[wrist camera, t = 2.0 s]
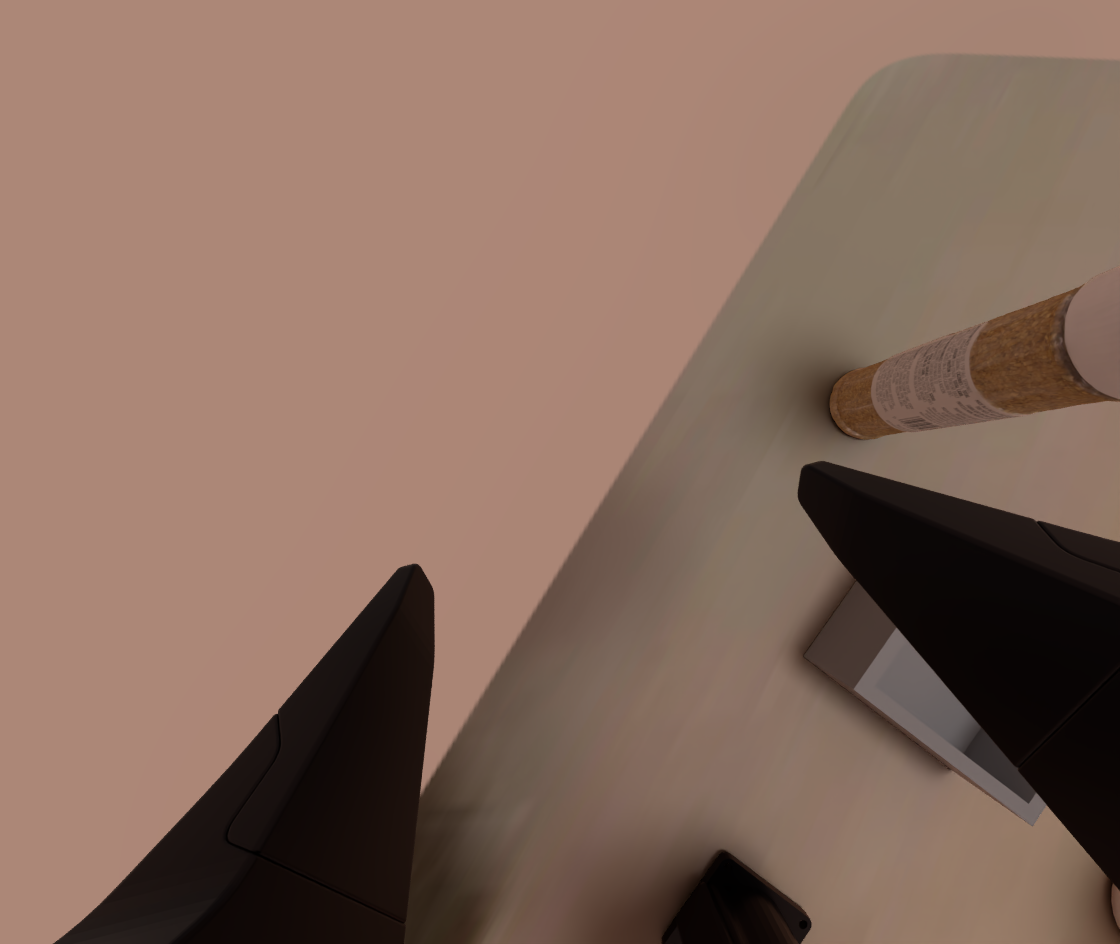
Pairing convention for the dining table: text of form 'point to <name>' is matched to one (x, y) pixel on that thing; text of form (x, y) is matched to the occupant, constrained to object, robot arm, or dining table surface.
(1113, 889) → the milk bottle
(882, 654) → the bin
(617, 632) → the dining table surface
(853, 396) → the sprinkles bottle
